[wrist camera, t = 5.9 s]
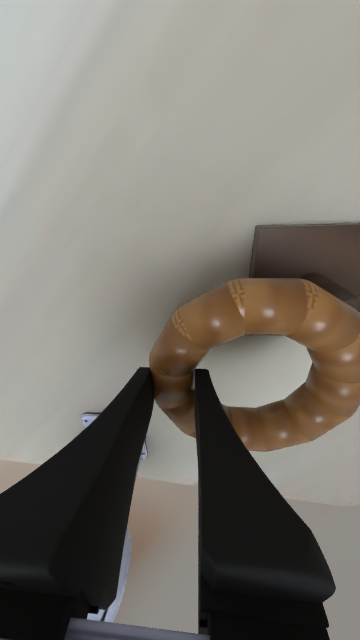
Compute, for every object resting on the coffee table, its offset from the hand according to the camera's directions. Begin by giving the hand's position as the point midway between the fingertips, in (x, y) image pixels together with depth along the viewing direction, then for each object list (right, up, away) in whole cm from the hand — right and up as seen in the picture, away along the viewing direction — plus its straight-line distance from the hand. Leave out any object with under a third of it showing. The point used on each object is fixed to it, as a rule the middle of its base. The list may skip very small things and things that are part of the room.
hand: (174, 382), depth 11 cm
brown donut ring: (+4, 0, 0) cm, 4 cm away
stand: (+11, +6, +6) cm, 14 cm away
